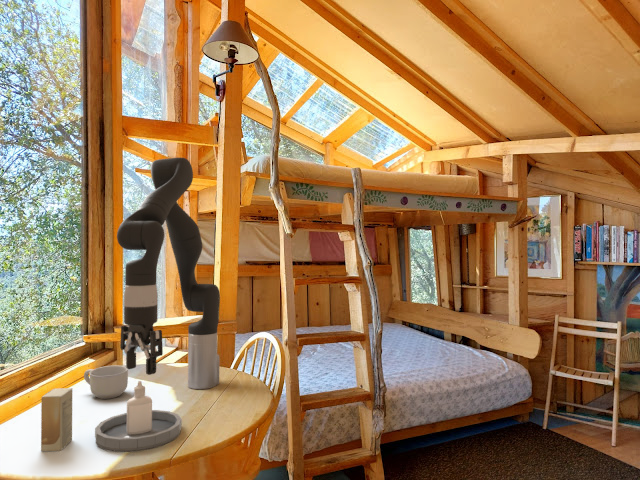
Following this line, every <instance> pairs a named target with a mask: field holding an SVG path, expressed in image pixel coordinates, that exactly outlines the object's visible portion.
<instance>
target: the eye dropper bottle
mask: <svg viewBox="0 0 640 480" xmlns="http://www.w3.org/2000/svg"><path fill="white" fill-rule="evenodd" d="M133 391H134V392H133V394H134V395H133V396H132V397H131V398H129V399H128V400H127V401H126V413H127V433H128V434H129V435H135V434H142V433H146V432H149V431H151V430H152V410H153V400H152V398H151V397H150V396H149V395H146V387H145V385H143V383H142V381H141V380H138V382H137V385H136V386H135V387H134V389H133Z"/></svg>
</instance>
